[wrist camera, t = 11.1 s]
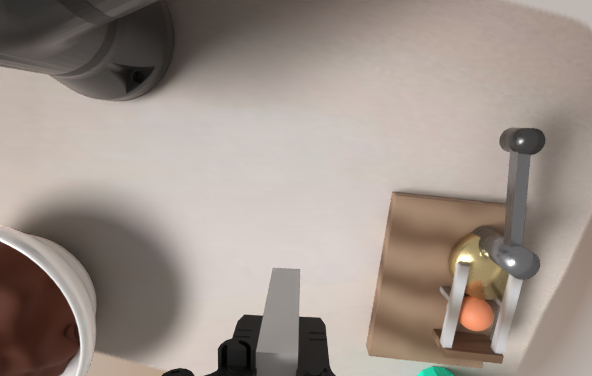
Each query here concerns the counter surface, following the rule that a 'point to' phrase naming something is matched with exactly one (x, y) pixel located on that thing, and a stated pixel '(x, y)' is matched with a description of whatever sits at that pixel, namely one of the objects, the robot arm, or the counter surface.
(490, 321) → the ball
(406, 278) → the stand
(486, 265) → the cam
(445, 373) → the candle
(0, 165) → the counter surface
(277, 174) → the counter surface
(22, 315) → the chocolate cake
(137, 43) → the robot arm
